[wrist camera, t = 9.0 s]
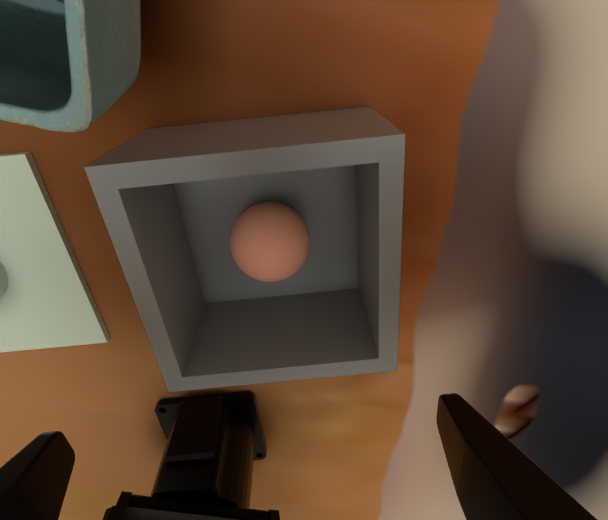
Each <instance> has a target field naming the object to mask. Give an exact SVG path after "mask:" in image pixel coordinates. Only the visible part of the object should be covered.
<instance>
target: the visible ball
mask: <svg viewBox="0 0 608 520" xmlns="http://www.w3.org/2000/svg"><path fill="white" fill-rule="evenodd" d="M309 247H310V237H309V232H308V229H307V226H306V224H305V222H304V221H303V219H302V218H301V216H300V215H299V214H298V213H297V212H296V211H294V210H293V209H292V208H290V207H288V206H286V205H284V204H281V203H277V202H263V203H259V204H255V205H253V206H251V207H249V208H248V209H246V210H245V211H244V212H242V213H241V215H240V216H239V217H238V218H237V219H236V221H235V223H234V225H233V227H232V230H231V234H230V250H231V254H232V256H233V259H234V261H235V262H236V264H237V266H238V267H239V268H240V269H241V270H242V271H243V272H244V273H245V274H247V275H248V276H250V277H252V278H254V279H256V280H260V281H265V282H275V281H280V280H283V279H286V278H288V277H290V276H291V275H293V274H294V273H296V272H297V271H298V270H299V269H300V268H301V266H302V265H303V263H304V262H305V260H306V258H307V255H308V252H309Z"/></svg>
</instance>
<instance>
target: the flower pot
mask: <svg viewBox="0 0 608 520" xmlns="http://www.w3.org/2000/svg"><path fill="white" fill-rule="evenodd" d="M140 60H141V21H140V0H64V1H63V0H0V120H4V121H9V122H14V123H19V124H23V125H31V126H35V127H38V128H41V129H45V130H50V131H61V132H79V131H84V130H85V129H86V128H88V127H89V126H90V125H91V124H92V123H93V122H94V121H95V120H96V119H97V118H98V117H100V116H101V115H102V114H103V113H104V112H105V111H107V110H108V109H109V108H110V107H111V106H112V105H113V104H114V103H115V102H116V101H117V100H118V99H119V98H120V97H122V96H123V95H124V94H125V93H126V92H127V91H128V90H129V88H130V87H131V86H132V85H133V83H134V82H135V80H136V78H137V75H138V72H139V67H140Z"/></svg>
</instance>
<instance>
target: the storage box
mask: <svg viewBox="0 0 608 520" xmlns="http://www.w3.org/2000/svg"><path fill="white" fill-rule="evenodd" d="M404 157H405V133H403V132H402V131H401V130H400V129H398V128H397V127H396V126H394V125H393V124H392V123H391V122H389V121H388V120H387V119H386V118H384V117H383V116H382V115H381V114H379V113H378V112H377V111H376V110H374V109H373V108H372V107H371V106H362V107H352V108H342V109H333V110H323V111H314V112H304V113H294V114H285V115H275V116H265V117H256V118H246V119H237V120H227V121H217V122H208V123H198V124H189V125H179V126H169V127H160V128H150V129H144V130H143V131H141V132H140V133H138V134H136V135H135V136H133V137H132V138H130V139H128V140H127V141H125V142H124V143H122V144H120V145H119V146H117V147H116V148H114V149H112V150H111V151H109V152H108V153H106V154H104V155H103V156H101V157H99V158H98V159H96V160H95V161H93V162H91V163H90V164H88V165H87V166H85V167H84V168H85V171H86V174H87V176H88V179H89V182H90V184H91V187H92V190H93V192H94V195H95V198H96V200H97V203H98V206H99V208H100V211H101V214H102V216H103V219H104V222H105V224H106V227H107V230H108V232H109V235H110V238H111V240H112V243H113V246H114V248H115V251H116V254H117V256H118V259H119V262H120V264H121V267H122V270H123V272H124V275H125V278H126V280H127V283H128V286H129V288H130V291H131V294H132V296H133V299H134V302H135V304H136V307H137V310H138V312H139V315H140V318H141V320H142V323H143V326H144V328H145V331H146V334H147V336H148V339H149V342H150V344H151V347H152V350H153V352H154V355H155V358H156V360H157V363H158V366H159V368H160V371H161V374H162V376H163V379H164V382H165V384H166V387H167V390H168V392H177V391H187V390H198V389H208V388H219V387H229V386H240V385H250V384H261V383H272V382H282V381H293V380H303V379H314V378H324V377H335V376H345V375H356V374H366V373H377V372H387V371H397V360H398V331H399V302H400V273H401V244H402V215H403V186H404ZM263 202H277V203H281V204H284V205H286V206H288V207H290V208H292V209H293V210H294V211H296V212H297V213H298V214H299V215H300V216H301V218H302V219H303V221H304V222H305V224H306V226H307V229H308V232H309V237H310V247H309V252H308V255H307V258H306V260H305V262H304V263H303V265H302V266H301V268H300V269H299V270H298V271H297V272H296V273H294V274H293V275H291V276H290V277H288V278H286V279H283V280H280V281H275V282H265V281H260V280H256V279H254V278H252V277H250V276H248V275H247V274H245V273H244V272H243V271H242V270H241V269H240V268H239V267H238V266H237V264H236V262H235V261H234V259H233V256H232V254H231V250H230V234H231V230H232V227H233V225H234V223H235V221H236V219H237V218H238V217H239V216H240V215H241V213H242V212H244V211H245V210H246V209H248V208H249V207H251V206H253V205H255V204H259V203H263Z"/></svg>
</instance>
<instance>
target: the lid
mask: <svg viewBox="0 0 608 520" xmlns="http://www.w3.org/2000/svg"><path fill="white" fill-rule="evenodd" d="M109 339H110V336H109V334H108V332H107V329H106V327H105V325H104V322H103V320H102V318H101V315H100V313H99V311H98V309H97V306H96V304H95V302H94V299H93V297H92V295H91V292H90V290H89V288H88V285H87V283H86V281H85V278H84V276H83V274H82V271H81V269H80V267H79V264H78V262H77V260H76V257H75V255H74V253H73V250H72V248H71V246H70V243H69V241H68V239H67V236H66V234H65V232H64V229H63V227H62V225H61V222H60V220H59V218H58V215H57V213H56V211H55V208H54V206H53V204H52V201H51V199H50V197H49V194H48V192H47V190H46V187H45V185H44V183H43V180H42V178H41V176H40V173H39V171H38V169H37V166H36V164H35V162H34V159H33V157H32V155H31V152H20V153H10V154H0V352H9V351H20V350H31V349H42V348H53V347H64V346H75V345H86V344H97V343H107V342H108V341H109Z"/></svg>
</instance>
